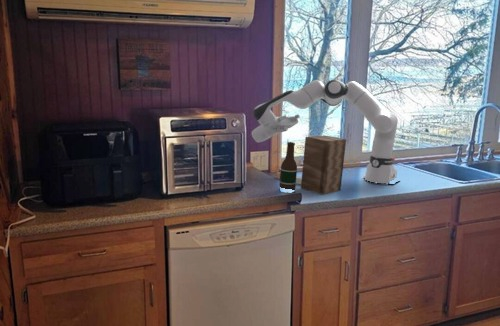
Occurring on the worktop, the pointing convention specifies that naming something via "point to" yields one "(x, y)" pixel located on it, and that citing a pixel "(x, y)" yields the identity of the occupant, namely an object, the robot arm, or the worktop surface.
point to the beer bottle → (288, 169)
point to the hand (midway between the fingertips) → (293, 115)
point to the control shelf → (323, 164)
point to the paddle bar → (298, 179)
